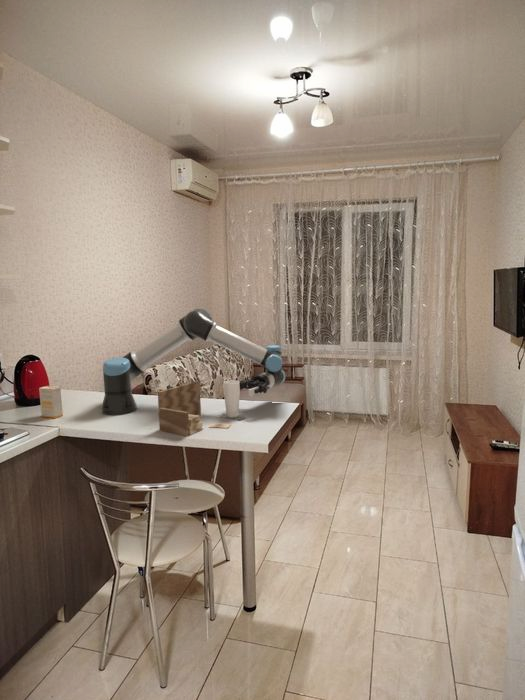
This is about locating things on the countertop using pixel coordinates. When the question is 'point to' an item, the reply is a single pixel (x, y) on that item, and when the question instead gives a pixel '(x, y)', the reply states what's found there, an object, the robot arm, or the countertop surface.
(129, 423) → the countertop surface
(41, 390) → the supplement box
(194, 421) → the offcut upper
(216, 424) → the offcut flat
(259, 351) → the robot arm
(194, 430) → the offcut lower
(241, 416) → the coaster
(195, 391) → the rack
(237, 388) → the drinking glass
